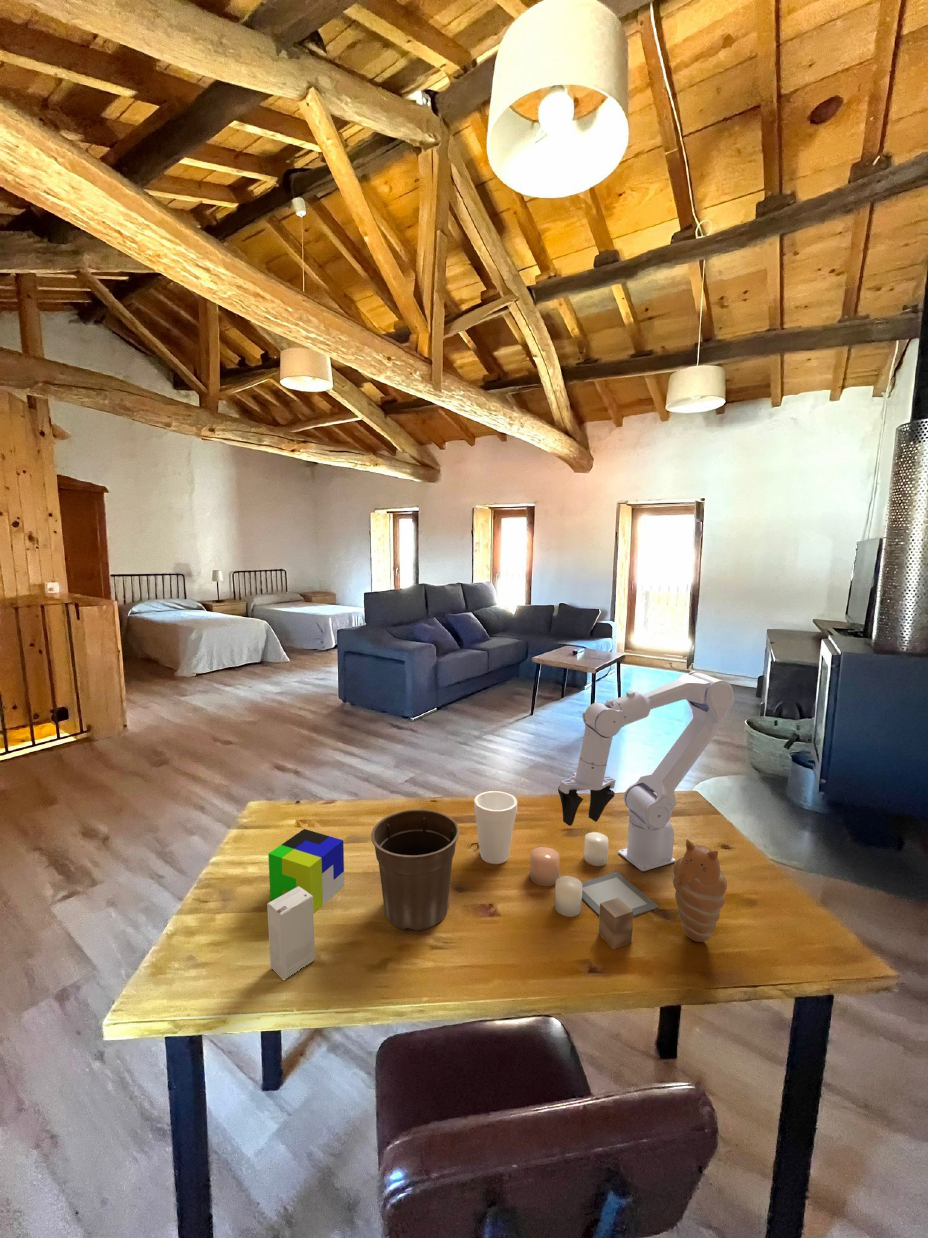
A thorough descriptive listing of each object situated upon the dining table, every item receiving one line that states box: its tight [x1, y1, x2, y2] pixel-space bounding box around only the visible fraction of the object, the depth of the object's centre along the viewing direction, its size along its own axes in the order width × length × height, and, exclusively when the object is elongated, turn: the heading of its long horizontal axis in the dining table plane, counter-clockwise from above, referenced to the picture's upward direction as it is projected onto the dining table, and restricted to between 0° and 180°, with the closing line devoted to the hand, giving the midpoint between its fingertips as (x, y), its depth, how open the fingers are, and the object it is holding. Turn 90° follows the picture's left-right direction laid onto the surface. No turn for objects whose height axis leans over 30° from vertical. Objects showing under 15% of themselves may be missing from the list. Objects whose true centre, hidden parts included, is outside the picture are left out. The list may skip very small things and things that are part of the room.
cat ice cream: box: [672, 839, 728, 943], centre depth 94 cm, size 9×8×18 cm
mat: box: [581, 871, 660, 918], centre depth 107 cm, size 12×12×1 cm
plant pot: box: [370, 808, 460, 932], centre depth 101 cm, size 16×16×16 cm
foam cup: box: [473, 790, 518, 865], centre depth 120 cm, size 10×9×13 cm
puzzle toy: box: [267, 828, 345, 915], centre depth 106 cm, size 10×10×10 cm
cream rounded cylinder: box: [583, 831, 609, 867], centre depth 119 cm, size 5×5×5 cm
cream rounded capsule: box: [554, 875, 583, 918], centre depth 103 cm, size 5×5×5 cm
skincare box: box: [266, 886, 316, 980], centre depth 88 cm, size 6×4×12 cm
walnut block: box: [598, 898, 634, 950], centre depth 95 cm, size 4×4×6 cm
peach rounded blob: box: [529, 846, 561, 887], centre depth 113 cm, size 6×6×5 cm
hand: (580, 821), depth 115 cm, fingers open, 7 cm apart
